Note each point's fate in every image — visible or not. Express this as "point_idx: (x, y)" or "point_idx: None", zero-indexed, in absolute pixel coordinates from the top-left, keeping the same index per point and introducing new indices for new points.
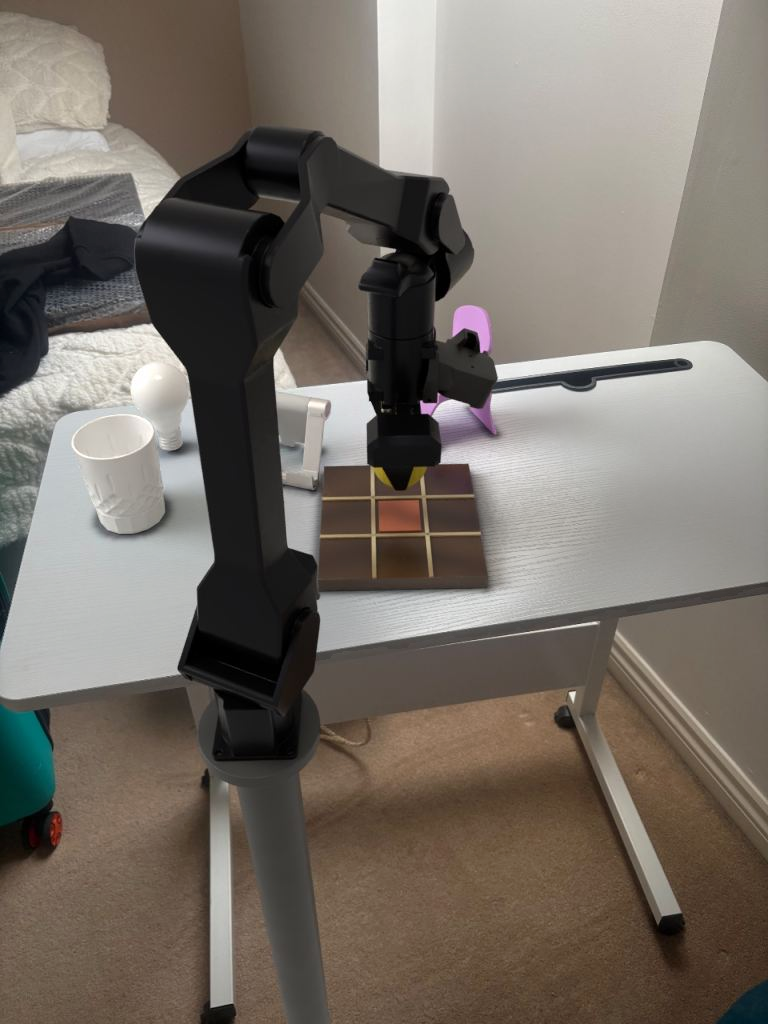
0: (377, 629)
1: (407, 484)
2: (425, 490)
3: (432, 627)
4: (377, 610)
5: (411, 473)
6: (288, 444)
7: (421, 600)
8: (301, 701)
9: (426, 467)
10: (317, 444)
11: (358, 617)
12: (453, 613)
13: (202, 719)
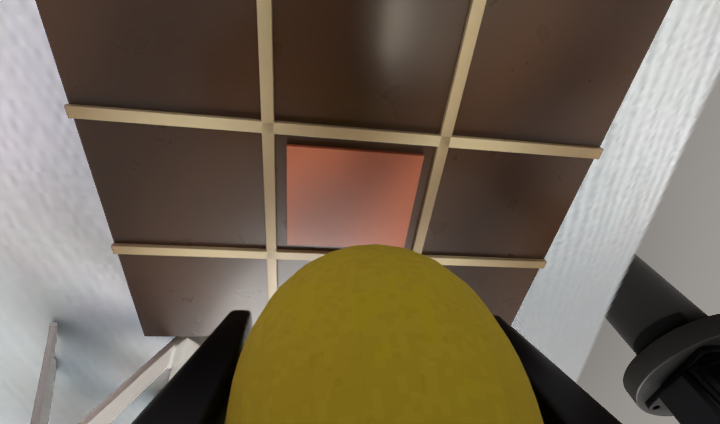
0: (619, 242)
1: (529, 343)
2: (227, 114)
3: (675, 150)
4: (577, 240)
5: (606, 410)
6: (55, 372)
7: (594, 161)
8: (716, 346)
9: (441, 277)
10: (114, 403)
11: (577, 267)
12: (668, 98)
13: (664, 414)
